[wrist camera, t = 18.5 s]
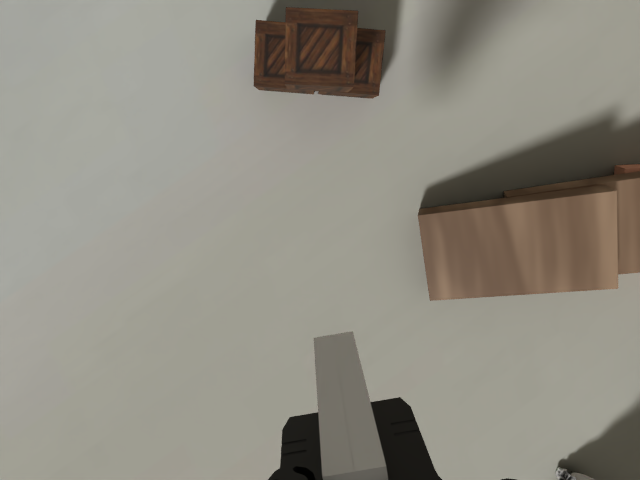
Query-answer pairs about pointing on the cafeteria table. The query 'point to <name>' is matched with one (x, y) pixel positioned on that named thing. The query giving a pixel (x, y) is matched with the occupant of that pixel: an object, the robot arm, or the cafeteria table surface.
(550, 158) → the cafeteria table surface
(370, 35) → the stack of crates
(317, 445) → the robot arm
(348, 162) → the cafeteria table surface
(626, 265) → the domino
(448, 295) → the domino
